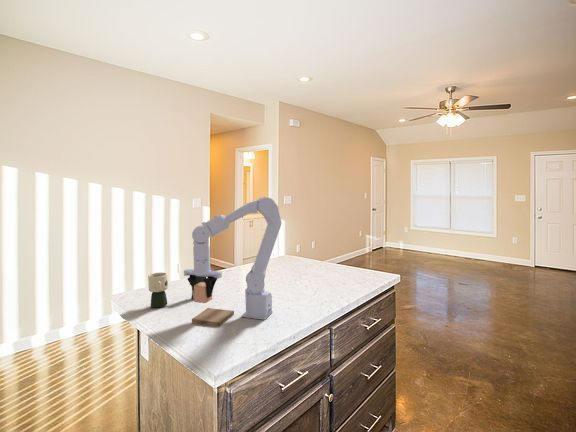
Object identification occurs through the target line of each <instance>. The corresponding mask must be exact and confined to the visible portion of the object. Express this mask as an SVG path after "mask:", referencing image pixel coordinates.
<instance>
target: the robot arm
mask: <svg viewBox="0 0 576 432" xmlns="http://www.w3.org/2000/svg"><path fill="white" fill-rule="evenodd" d="M258 213H260V214H261V215H262V216H263V218H264V221H265V222H266V224H267V225H266V227H265V231H264V232H263V233H264V234H263V237H262V239H261V242H260V246H259V249H258V250H257V251H258V252H257V254H256V257H255V260H254V263H253V265H252V267H251V269H250V270H249V272H248V273H247V274H246V276H245V282H246V289H245V291H244V292H245V299H244V300H245V312H244V313H242V314H241V317H242V318H249V319H256V320H266V319H268V318H269V316H270V315H271V314H273V312H274V310H273V298H272V297H273V296H272V293H271V292H270V291H269V292H268V291H266V290H265V287H266V286H265V277H266V272H267V268H268V265H269V262H270V258H271V256H272V253H273V250H274V247H275V244H276V241H277V238H278V235H279V232H280V230H281V226H282V219H281V215H280V211H279V206H278V205H277V203H276V201H275V200H274V199H273V198H271V197H267V196H262V197H260V198H258V199H255V200H252V201H249V202H247V203H245V204H244V205H242V206H240V207H238V208H236V209H235V210H233V211H232V212H229V213H228V214H226V215H224V214H219V215H218V214H215V215H213V218H211V219H210V220H208V221H203V222H202V223H201V224H202V225H197V226H196V227H195V228H194V229H193V231H192V232H191V236H192V239H193V243H192V245H193V247H192V248H193V269H189V268H187V269H184V270H183V276H185V277H186V276H189V277H188V278H187V281H188V283H189V285H190V284H191V285H190V286H191V290H192V289H193V291H194V285H196V284H198V283H200V279H201V277H206V279H204V281H205V285H206V292H207V298H209V297H211V296H212V297H213V291H214V288H215V285H216V282H217V280H218V279H221V278H222V277H223V276H222V274H223V273H222V271H217V270H212V269H211V247H210V240H209V238H211V237H212V238H213V237H215V236H217V235H219V234H220V233H222V232H224V231H226V230H228V229H229V227H230V224H232V223H233V222H236V221H237V220H240V219H241V218H243V217H245V216H247V215H249V214H255V215H256V214H257V215H259V214H258Z"/></svg>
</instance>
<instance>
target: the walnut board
mask: <svg viewBox="0 0 576 432" xmlns="http://www.w3.org/2000/svg"><path fill="white" fill-rule="evenodd" d="M234 315H235V310H230V309H221V308H210V307H207V308H206V309H204V310H203V311H202V312H200V313H198V314H197V315H196V316H194V317H192V319H191V324H194V325H203V326H211V327H219V328H220V327H222V326H223V325H224V324H225V323H227V321H229V320H230V319H231V318H232V317H234Z"/></svg>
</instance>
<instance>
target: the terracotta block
mask: <svg viewBox="0 0 576 432" xmlns="http://www.w3.org/2000/svg"><path fill="white" fill-rule="evenodd" d="M193 300H194V301H193V302H194V303H199V304H200V303H201V304H207V303H208V302H210V301H212V300H213V295H212V296H211V297H209V298H207V292H206V285H205V282H200V283H198V284H196V285H194V299H193Z"/></svg>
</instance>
